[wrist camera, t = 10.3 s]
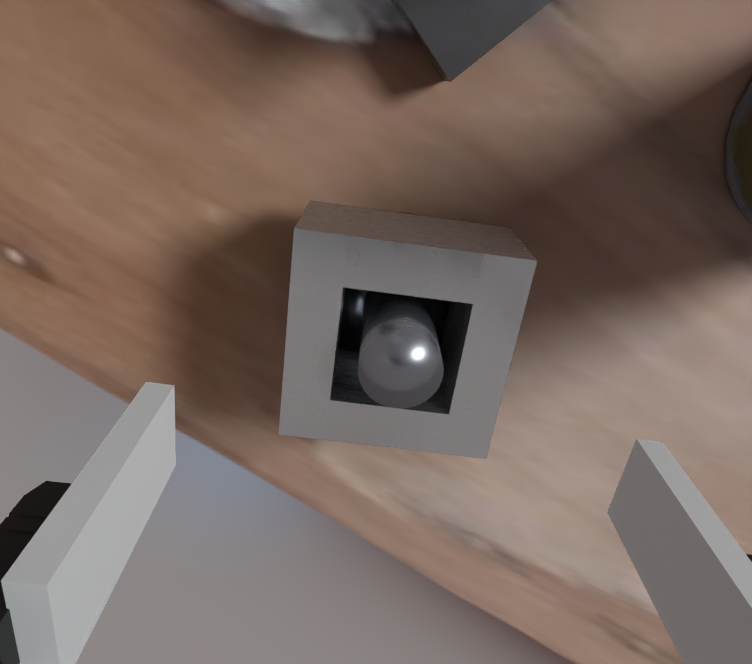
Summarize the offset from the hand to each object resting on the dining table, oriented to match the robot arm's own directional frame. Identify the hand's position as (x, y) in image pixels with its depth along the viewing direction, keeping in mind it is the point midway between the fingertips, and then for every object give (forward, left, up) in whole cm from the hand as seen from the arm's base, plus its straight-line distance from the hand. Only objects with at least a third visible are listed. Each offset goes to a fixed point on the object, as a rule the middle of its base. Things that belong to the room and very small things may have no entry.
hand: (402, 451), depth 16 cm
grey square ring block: (0, 0, -12) cm, 12 cm away
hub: (0, 0, -14) cm, 14 cm away
